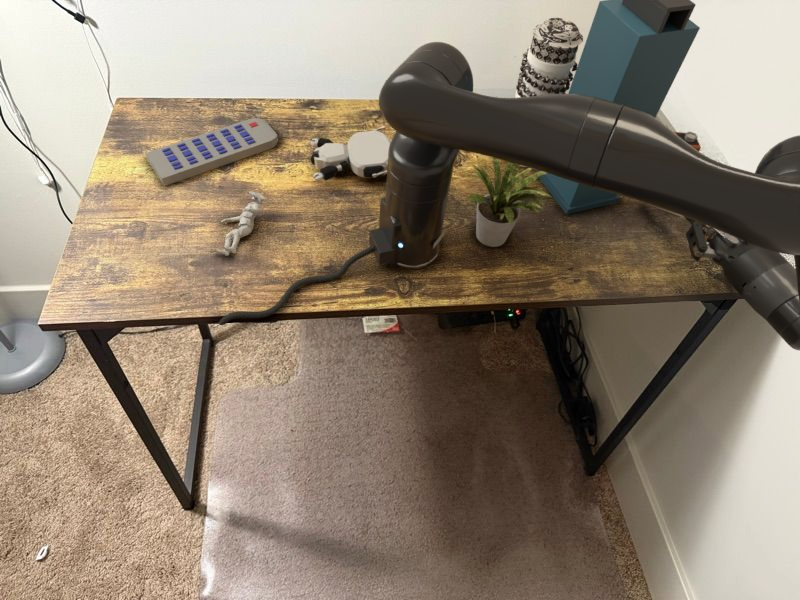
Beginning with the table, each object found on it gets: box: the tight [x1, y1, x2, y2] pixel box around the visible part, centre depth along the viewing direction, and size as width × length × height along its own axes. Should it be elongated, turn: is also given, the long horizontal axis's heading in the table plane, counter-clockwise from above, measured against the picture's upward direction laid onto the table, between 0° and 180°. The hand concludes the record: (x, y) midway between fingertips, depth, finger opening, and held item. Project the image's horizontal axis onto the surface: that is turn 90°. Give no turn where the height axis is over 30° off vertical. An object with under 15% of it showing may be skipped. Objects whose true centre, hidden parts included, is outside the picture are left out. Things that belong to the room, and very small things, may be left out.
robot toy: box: [309, 125, 391, 182], centre depth 102 cm, size 12×4×15 cm
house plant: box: [459, 157, 554, 248], centre depth 88 cm, size 14×14×16 cm
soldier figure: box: [215, 191, 267, 257], centre depth 91 cm, size 8×5×12 cm
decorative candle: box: [514, 17, 584, 168], centre depth 100 cm, size 9×9×25 cm
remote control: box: [144, 117, 279, 187], centre depth 103 cm, size 8×23×2 cm, turn 125°
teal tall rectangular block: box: [536, 0, 701, 215], centre depth 90 cm, size 11×11×35 cm
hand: (692, 203), depth 91 cm, fingers closed on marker, 2 cm apart
